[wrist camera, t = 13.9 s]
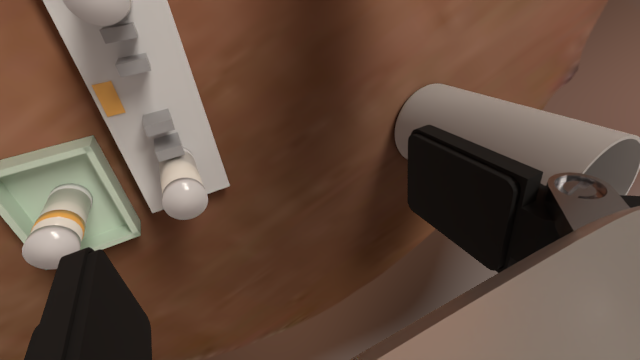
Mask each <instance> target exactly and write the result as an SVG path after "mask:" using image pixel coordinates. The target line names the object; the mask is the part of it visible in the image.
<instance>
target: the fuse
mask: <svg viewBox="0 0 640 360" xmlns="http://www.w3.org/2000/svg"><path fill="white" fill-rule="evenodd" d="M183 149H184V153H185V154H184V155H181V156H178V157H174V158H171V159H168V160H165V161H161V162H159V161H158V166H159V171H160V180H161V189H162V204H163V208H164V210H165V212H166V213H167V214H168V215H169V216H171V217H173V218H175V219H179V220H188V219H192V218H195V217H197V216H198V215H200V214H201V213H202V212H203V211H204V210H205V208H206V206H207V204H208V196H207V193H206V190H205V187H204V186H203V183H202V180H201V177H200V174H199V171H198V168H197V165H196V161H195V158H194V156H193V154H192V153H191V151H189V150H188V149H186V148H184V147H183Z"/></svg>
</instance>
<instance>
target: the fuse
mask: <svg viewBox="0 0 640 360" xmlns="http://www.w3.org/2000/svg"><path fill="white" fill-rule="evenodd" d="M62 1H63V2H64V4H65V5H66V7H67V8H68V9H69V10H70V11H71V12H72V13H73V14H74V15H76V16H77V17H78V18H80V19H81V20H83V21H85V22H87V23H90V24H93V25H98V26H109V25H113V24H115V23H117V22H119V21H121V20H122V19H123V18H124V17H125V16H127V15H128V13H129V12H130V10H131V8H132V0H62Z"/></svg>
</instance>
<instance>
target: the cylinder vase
mask: <svg viewBox="0 0 640 360" xmlns="http://www.w3.org/2000/svg"><path fill="white" fill-rule="evenodd" d="M426 125H432V126H435V127H437V128H440V129H442V130H444V131H447V132H449V133H452V134H454V135H456V136H459V137H461V138H464V139H466V140H468V141H471V142H473V143H476V144H478V145H480V146H483V147H485V148H488V149H490V150H492V151H495V152H497V153H499V154H502V155H504V156H507V157H509V158H511V159H514V160H516V161H519V162H521V163H523V164H526V165H528V166H531V167H533V168H535V169H538V170H540V171H543V175H542V179H541V184H543V185H545V186H546V185H547V181H548V179H549V178H550V177H551V176H553V175H555V174H559V173H567V172H572V173H582V174H587V175H591V176H594V177H597V178H600V179H602V180H603V181H605V182H607V183H608V184H610V185H611V186H612V187H613V188H614V189H615V190H616V192H617V193H618V194H619V195H627V193H628V192H629V190H630V188H631V186H632V184H633V183H634V180H635V178H636V176H637V174H638V171H639V169H640V137H638V136H636V135H632V134H628V133H625V132H621V131H617V130H613V129H609V128H606V127H602V126H598V125H594V124H591V123H587V122H583V121H579V120H576V119H572V118H568V117H564V116H561V115H557V114H553V113H549V112H546V111H542V110H538V109H534V108H531V107H527V106H523V105H519V104H516V103H512V102H508V101H504V100H500V99H497V98H493V97H489V96H485V95H482V94H478V93H474V92H470V91H467V90H463V89H459V88H455V87H452V86H448V85H444V84H430V85H427V86H425V87H423V88H421V89H419V90H418V91H416V92H415V93H414V94H413V95H412V96H411V97H410V98H409V99H408V100H407V101H406V103H405V104H404V105H403V107H402V109H401V111H400V113H399V115H398V118H397V121H396V125H395V143H396V146H397V148H398V150H399V152H400V153H401V155H402V156H403V157H405V158H406V159H408V138H409V136H410V135H411V133H412V131H413V130H414V129H417V128H420V127H423V126H426Z"/></svg>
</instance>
